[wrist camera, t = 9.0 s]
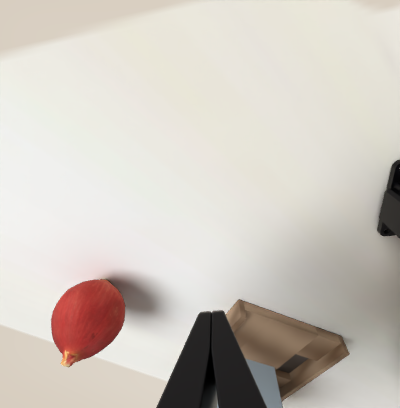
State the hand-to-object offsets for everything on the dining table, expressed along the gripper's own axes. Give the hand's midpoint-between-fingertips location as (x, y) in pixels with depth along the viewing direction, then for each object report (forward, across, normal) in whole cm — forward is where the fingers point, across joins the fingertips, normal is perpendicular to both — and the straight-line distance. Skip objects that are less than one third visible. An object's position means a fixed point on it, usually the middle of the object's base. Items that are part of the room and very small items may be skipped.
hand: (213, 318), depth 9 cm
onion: (+12, +12, +10) cm, 20 cm away
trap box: (+12, -2, +24) cm, 27 cm away
